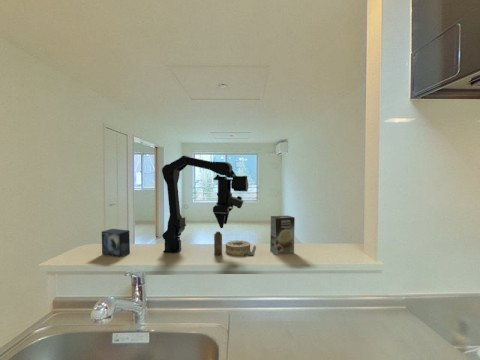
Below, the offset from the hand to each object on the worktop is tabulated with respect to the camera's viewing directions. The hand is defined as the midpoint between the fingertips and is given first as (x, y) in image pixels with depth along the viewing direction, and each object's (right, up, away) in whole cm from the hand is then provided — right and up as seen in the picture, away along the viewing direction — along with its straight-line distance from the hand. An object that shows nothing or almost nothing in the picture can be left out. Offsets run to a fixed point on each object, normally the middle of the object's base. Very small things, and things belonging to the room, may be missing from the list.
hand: (223, 225), depth 125 cm
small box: (-48, -13, 0) cm, 49 cm away
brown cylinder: (-2, -12, -1) cm, 13 cm away
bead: (+6, -12, +4) cm, 14 cm away
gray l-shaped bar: (+12, -12, +5) cm, 18 cm away
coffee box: (+26, -13, +3) cm, 29 cm away
